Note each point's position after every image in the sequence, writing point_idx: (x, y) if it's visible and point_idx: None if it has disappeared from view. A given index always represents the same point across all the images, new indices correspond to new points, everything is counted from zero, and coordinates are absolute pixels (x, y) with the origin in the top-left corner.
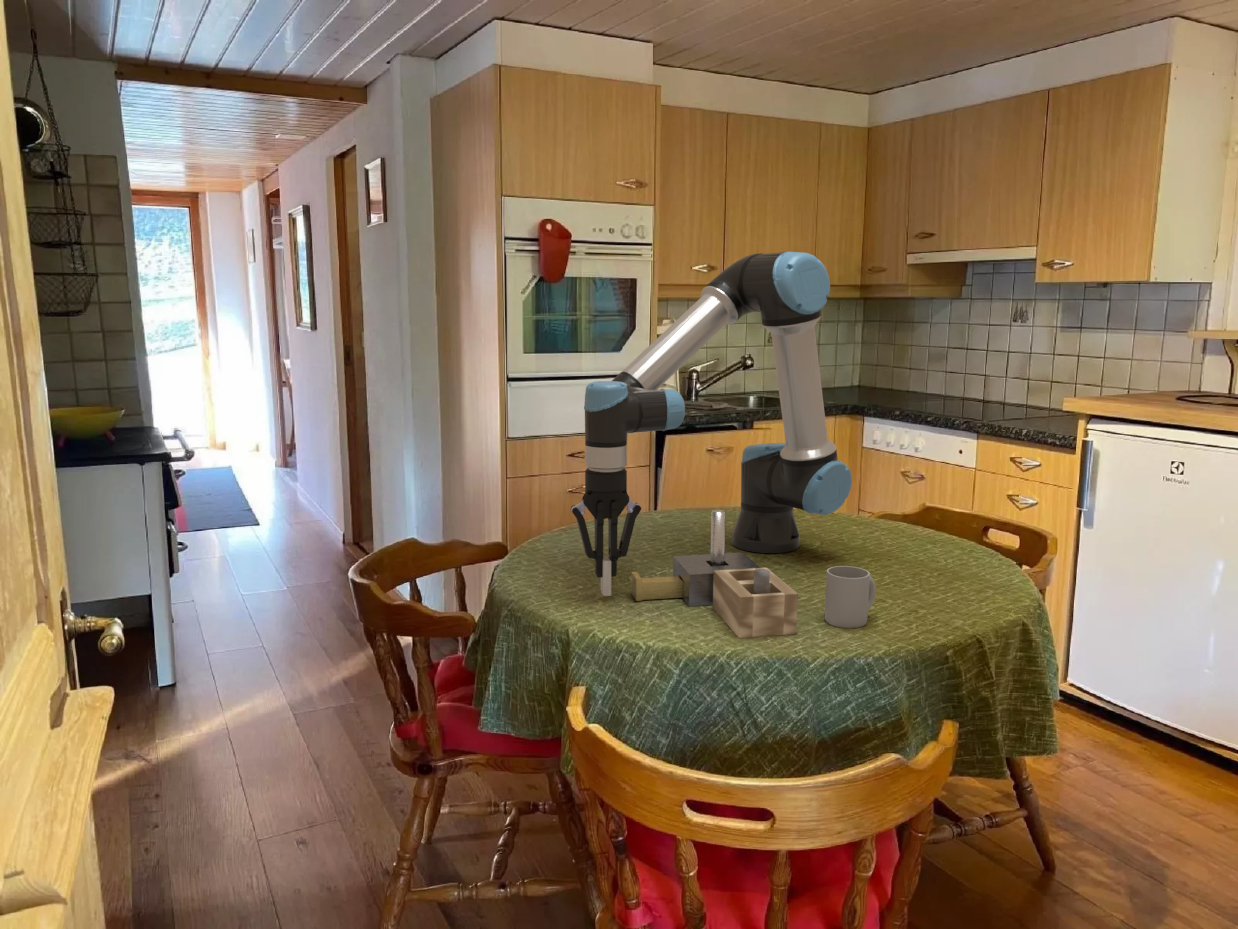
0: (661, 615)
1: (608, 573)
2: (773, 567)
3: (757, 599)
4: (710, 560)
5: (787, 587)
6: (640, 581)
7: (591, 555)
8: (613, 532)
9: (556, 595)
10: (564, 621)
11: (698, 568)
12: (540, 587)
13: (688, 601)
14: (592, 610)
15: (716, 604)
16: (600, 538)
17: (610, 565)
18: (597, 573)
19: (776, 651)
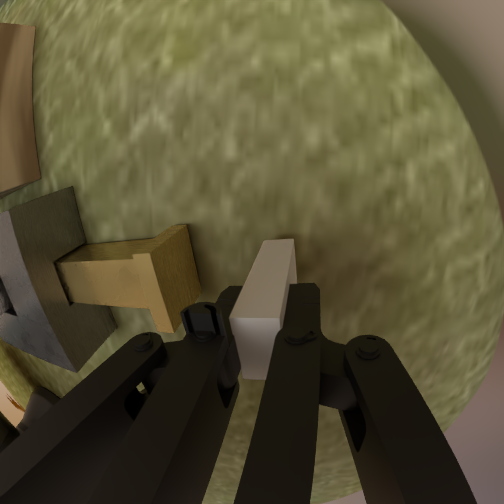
0: (126, 112)
1: (259, 280)
2: None
3: None
4: (2, 300)
5: None
6: (141, 250)
7: (361, 346)
8: (134, 479)
9: (419, 313)
10: (429, 78)
11: (8, 263)
12: (432, 365)
13: (66, 195)
14: (339, 161)
15: (24, 156)
16: (275, 463)
17: (239, 303)
18: (314, 293)
19: (21, 3)
